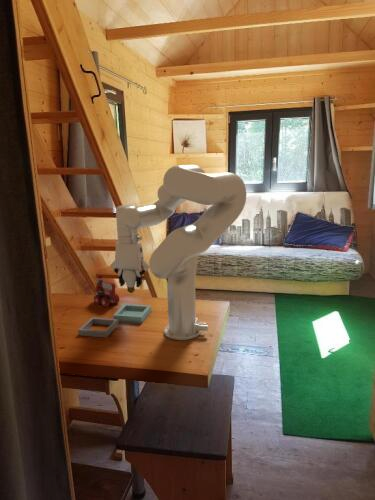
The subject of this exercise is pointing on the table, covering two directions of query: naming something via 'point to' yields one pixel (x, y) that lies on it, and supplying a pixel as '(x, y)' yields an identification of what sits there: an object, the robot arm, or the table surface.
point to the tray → (132, 313)
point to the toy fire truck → (105, 293)
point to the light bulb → (130, 279)
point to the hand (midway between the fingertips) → (130, 285)
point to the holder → (98, 333)
